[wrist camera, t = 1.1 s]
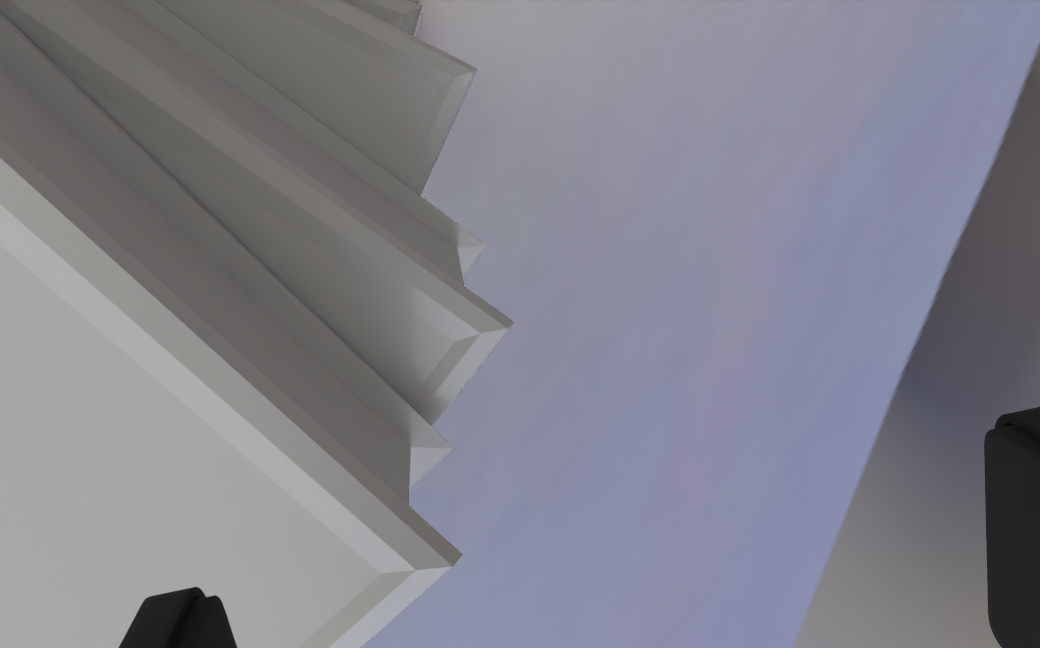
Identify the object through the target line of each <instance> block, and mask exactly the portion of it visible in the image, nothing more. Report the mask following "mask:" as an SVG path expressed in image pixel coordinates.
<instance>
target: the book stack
mask: <svg viewBox="0 0 1040 648" xmlns="http://www.w3.org/2000/svg"><path fill="white" fill-rule="evenodd" d="M421 9H422V5H420V4H417V3H415V2H412V1H409V0H0V648H119V646H120V644H121V642H122V640H123V638H124V637H125V635H126V633H127V631H128V629H129V627H130V625H131V623H132V622H133V620H134V618H135V616H136V614H137V612H138V610H139V608H140V606H141V605H142V603H143V601H144V600H145V599H146V598H147V597H150V596H154V595H159V594H164V593H168V592H173V591H178V590H183V589H187V588H192V587H198V588H200V589H201V590H202V591H203V593H204V594H205V596H206V597H209V596H214V595H216V596H218V597H219V598H220V600H221V601H222V603H223V606H224V608H225V611H226V614H227V618H228V621H229V624H230V627H231V630H232V633H233V636H234V639H235V642H236V645H237V648H361V647H362V646H363V645H364V644H365V643H366V642H367V641H368V640H370V639H371V638H372V637H373V636H374V635H375V634H376V633H378V632H379V631H380V630H381V629H382V628H383V627H384V626H386V625H387V624H388V623H389V622H390V621H391V620H392V619H394V618H395V617H396V616H397V615H398V614H399V613H400V612H402V611H403V610H404V609H405V608H406V607H407V606H408V605H409V604H411V603H412V602H413V601H414V600H415V599H416V598H417V597H419V596H420V595H421V594H422V593H423V592H424V591H425V590H427V589H428V588H429V587H430V586H431V585H432V584H433V583H435V582H436V581H437V580H438V579H439V578H440V577H441V576H443V575H444V574H445V573H446V572H447V571H448V570H449V569H450V568H452V567H453V566H454V564H455V563H456V562H457V561H458V559H459V558H460V557H461V556H462V555H463V554H461V553H460V552H459V551H458V550H457V549H456V548H455V547H454V546H453V545H452V544H450V543H449V542H448V541H447V540H446V539H445V538H444V537H443V536H442V535H440V534H439V533H438V532H437V531H436V530H435V529H434V528H433V527H432V526H431V525H429V524H428V523H427V522H426V521H425V520H424V519H423V518H422V517H421V516H419V515H418V514H417V513H416V512H415V511H414V510H413V509H412V508H411V507H410V506H409V489H410V488H411V487H412V486H413V485H414V484H416V483H417V482H418V481H419V480H420V479H421V478H422V477H423V476H425V475H426V474H427V473H428V472H429V471H430V470H431V469H432V468H433V467H435V466H436V465H437V464H438V463H439V462H440V461H441V460H442V459H443V458H445V457H446V456H447V455H448V454H449V453H450V452H451V451H452V450H453V449H454V448H453V447H452V446H451V445H450V444H449V443H448V442H447V441H446V440H445V439H444V438H443V437H442V436H441V435H440V434H439V433H438V432H437V431H436V430H435V429H434V428H433V426H434V424H435V423H436V422H437V420H438V419H439V418H440V417H441V415H442V414H443V413H444V412H445V410H446V409H447V408H448V406H449V405H450V404H451V403H452V401H453V400H454V399H455V397H456V396H457V395H458V394H459V392H460V391H461V390H462V388H463V387H464V386H465V385H466V383H467V382H468V381H469V379H470V378H471V377H472V376H473V374H474V373H475V372H476V370H477V369H478V368H479V367H480V365H481V364H482V363H483V361H484V360H485V359H486V358H487V356H488V355H489V354H490V352H491V351H492V350H493V349H494V347H495V346H496V345H497V343H498V342H499V341H500V340H501V338H502V337H503V336H504V334H505V333H506V332H507V331H508V329H509V328H510V327H511V326H512V324H513V323H514V322H513V321H512V320H510V319H509V318H508V317H506V316H505V315H503V314H502V313H501V312H499V311H498V310H496V309H495V308H494V307H492V306H491V305H489V304H488V303H487V302H485V301H484V300H483V299H481V298H480V297H478V296H477V295H476V294H474V293H473V292H471V291H470V290H469V289H467V288H466V287H464V281H463V276H464V275H465V274H466V272H467V271H468V270H469V268H470V267H471V266H472V264H473V263H474V262H475V260H476V259H477V258H478V256H479V255H480V254H481V253H482V251H483V250H484V249H485V247H486V246H487V245H485V244H484V243H483V242H481V241H480V240H479V239H477V238H476V237H475V236H473V235H472V234H471V233H469V232H468V231H466V230H465V229H464V228H462V227H461V226H460V225H458V224H457V223H456V222H454V221H453V220H452V219H450V218H449V217H448V216H446V215H445V214H444V213H442V212H441V211H440V210H438V209H437V208H435V207H434V206H433V205H431V204H430V203H429V202H427V201H426V200H425V199H423V198H422V197H421V196H420V194H421V192H422V190H423V188H424V186H425V183H426V181H427V179H428V177H429V175H430V172H431V170H432V168H433V166H434V164H435V161H436V159H437V157H438V155H439V153H440V150H441V148H442V146H443V144H444V142H445V140H446V137H447V135H448V133H449V131H450V129H451V126H452V124H453V122H454V120H455V118H456V115H457V113H458V111H459V109H460V107H461V104H462V102H463V100H464V98H465V96H466V93H467V91H468V89H469V87H470V85H471V82H472V80H473V78H474V76H475V74H476V71H477V69H476V68H475V67H473V66H471V65H469V64H467V63H465V62H463V61H461V60H459V59H457V58H455V57H453V56H451V55H449V54H447V53H445V52H443V51H441V50H439V49H437V48H435V47H433V46H431V45H429V44H427V43H425V42H423V41H421V40H419V39H417V38H416V35H417V32H418V28H419V25H420V21H421V18H422V14H423V13H421Z"/></svg>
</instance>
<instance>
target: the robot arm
mask: <svg viewBox="0 0 1040 648" xmlns="http://www.w3.org/2000/svg"><path fill="white" fill-rule="evenodd" d="M984 450H985V451H984V452H985V495H986V537H987V579H988V615H989V622H990V626H991V629H992V631H993V634H994V636H995V638H996V640H997V641H998V643H999V644H1000V646H1001V647H1002V648H1040V407H1037V408H1033V409H1028V410H1024V411H1019V412H1014V413H1009V414H1005V415H1002V416H1001V417H999V418H998V420H997V422H996V424H995V429H992V430H990V431H988V432H987V434H986V436H985V442H984ZM119 648H237V645H236V642H235V639H234V636H233V633H232V630H231V627H230V624H229V621H228V618H227V614H226V611H225V608H224V606H223V603H222V601H221V600H220V598H219V597H218V596H216V595H214V596H209V597H206V596H205V594H204V593H203V591H202V590H201V589H200V588H198V587H192V588H187V589H183V590H178V591H173V592H168V593H164V594H159V595H154V596H150V597H147V598H146V599H145V600H144V601H143V603H142V605H141V606H140V608H139V610H138V612H137V614H136V616H135V618H134V620H133V622H132V623H131V625H130V627H129V629H128V631H127V633H126V635H125V637H124V638H123V640H122V642H121V644H120V646H119Z"/></svg>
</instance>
